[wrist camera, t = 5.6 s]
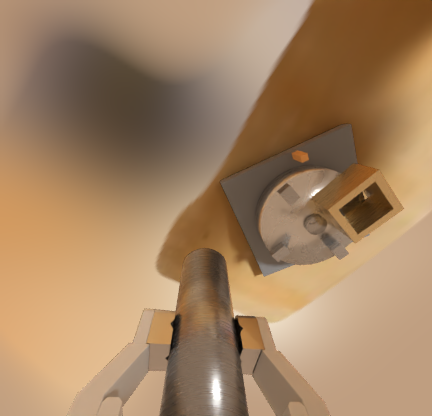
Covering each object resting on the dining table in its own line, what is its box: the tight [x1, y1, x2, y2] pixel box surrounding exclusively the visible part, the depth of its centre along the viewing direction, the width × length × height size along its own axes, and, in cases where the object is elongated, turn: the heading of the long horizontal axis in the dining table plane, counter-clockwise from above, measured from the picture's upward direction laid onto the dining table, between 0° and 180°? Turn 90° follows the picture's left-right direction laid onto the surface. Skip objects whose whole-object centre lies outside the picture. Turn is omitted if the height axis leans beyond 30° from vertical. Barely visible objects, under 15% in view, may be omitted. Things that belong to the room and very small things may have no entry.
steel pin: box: [159, 248, 249, 416], centre depth 10 cm, size 3×3×9 cm
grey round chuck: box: [255, 163, 404, 265], centre depth 24 cm, size 14×13×6 cm
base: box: [220, 124, 369, 276], centre depth 27 cm, size 17×17×4 cm
